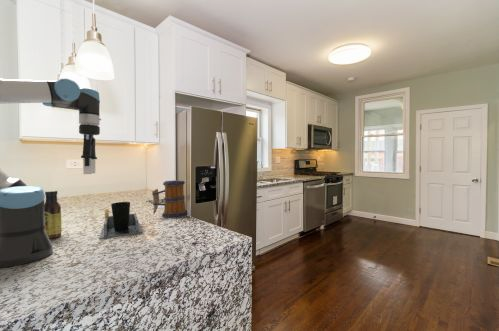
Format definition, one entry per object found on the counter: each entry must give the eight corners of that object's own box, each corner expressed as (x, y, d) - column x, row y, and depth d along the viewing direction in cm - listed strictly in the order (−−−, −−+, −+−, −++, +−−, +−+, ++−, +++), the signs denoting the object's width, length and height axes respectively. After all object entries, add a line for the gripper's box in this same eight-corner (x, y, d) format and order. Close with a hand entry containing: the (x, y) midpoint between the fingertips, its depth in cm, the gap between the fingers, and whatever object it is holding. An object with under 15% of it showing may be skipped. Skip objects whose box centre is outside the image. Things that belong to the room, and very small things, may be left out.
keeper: (142, 232, 105) (141, 212, 105) (99, 239, 97) (98, 217, 97) (139, 223, 121) (138, 206, 121) (102, 228, 113) (101, 209, 113)
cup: (115, 232, 104) (114, 205, 103) (109, 229, 109) (108, 203, 109) (133, 229, 109) (132, 203, 109) (127, 226, 115) (126, 201, 114)
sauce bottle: (41, 237, 102) (40, 191, 102) (60, 233, 106) (58, 189, 106) (44, 240, 97) (42, 192, 97) (63, 236, 102) (61, 190, 102)
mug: (155, 221, 126) (153, 183, 125) (150, 216, 138) (149, 181, 138) (191, 216, 136) (190, 181, 135) (184, 211, 148) (183, 179, 148)
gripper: (96, 121, 95) (96, 174, 95) (102, 129, 117) (102, 172, 117) (73, 119, 92) (73, 174, 92) (83, 128, 114) (84, 173, 114)
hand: (89, 173), depth 104 cm, fingers open, 13 cm apart
